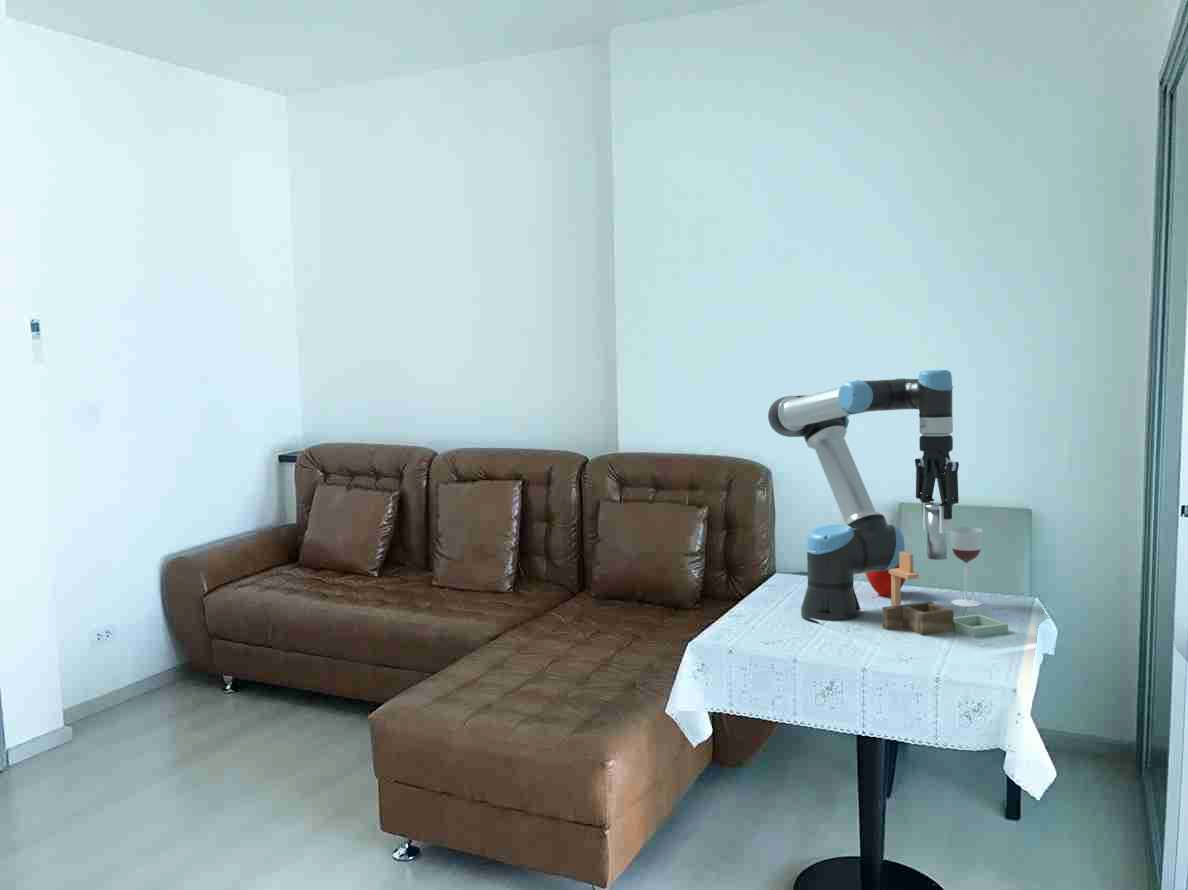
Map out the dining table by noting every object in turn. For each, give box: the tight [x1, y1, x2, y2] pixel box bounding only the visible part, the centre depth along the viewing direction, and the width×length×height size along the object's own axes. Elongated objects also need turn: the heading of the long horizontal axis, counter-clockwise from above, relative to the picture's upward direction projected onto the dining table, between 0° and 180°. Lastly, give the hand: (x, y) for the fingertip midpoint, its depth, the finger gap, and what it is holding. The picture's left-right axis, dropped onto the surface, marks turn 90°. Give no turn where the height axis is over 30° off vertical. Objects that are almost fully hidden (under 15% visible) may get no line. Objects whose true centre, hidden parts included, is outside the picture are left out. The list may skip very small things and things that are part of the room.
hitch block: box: [882, 600, 954, 636], centre depth 237 cm, size 9×14×6 cm, turn 110°
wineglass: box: [950, 526, 984, 607], centre depth 263 cm, size 8×9×20 cm
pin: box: [924, 502, 948, 561], centre depth 235 cm, size 6×6×13 cm
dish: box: [953, 613, 1009, 639], centre depth 236 cm, size 10×10×3 cm
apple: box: [865, 564, 907, 597], centre depth 275 cm, size 12×12×13 cm
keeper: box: [889, 551, 920, 607], centre depth 236 cm, size 7×3×13 cm, turn 20°
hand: (937, 530), depth 235 cm, fingers closed on pin, 6 cm apart
